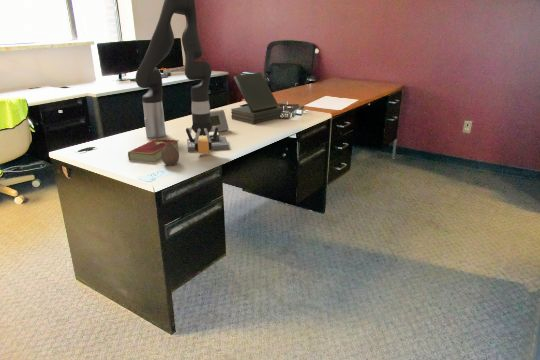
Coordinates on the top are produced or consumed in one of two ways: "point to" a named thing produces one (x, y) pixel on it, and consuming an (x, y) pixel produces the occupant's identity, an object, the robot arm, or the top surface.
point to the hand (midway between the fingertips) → (203, 150)
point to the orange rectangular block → (203, 146)
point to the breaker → (212, 136)
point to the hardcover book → (150, 150)
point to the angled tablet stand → (256, 100)
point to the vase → (170, 154)
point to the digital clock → (218, 120)
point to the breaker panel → (215, 144)
